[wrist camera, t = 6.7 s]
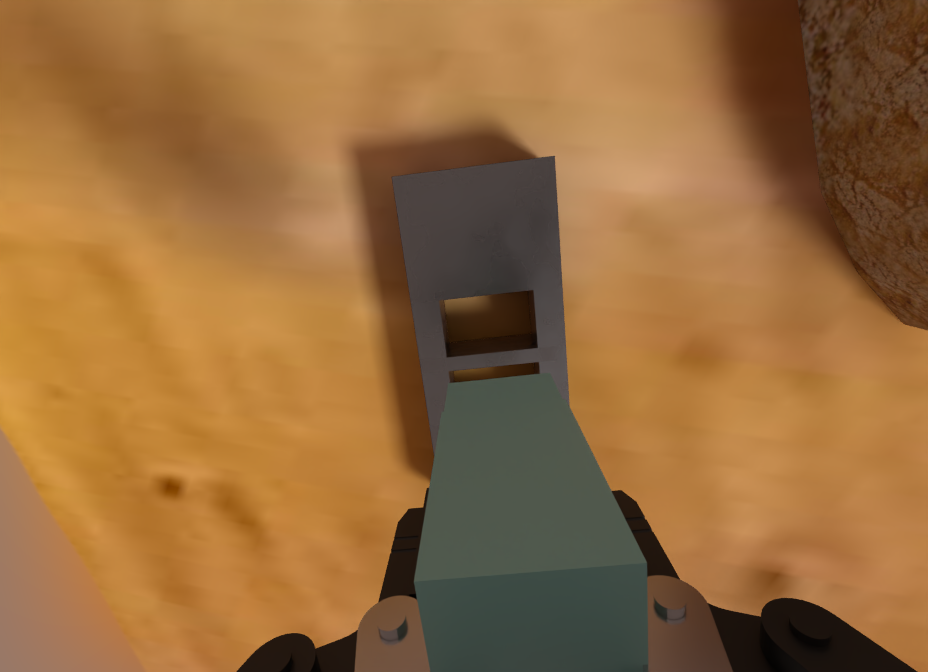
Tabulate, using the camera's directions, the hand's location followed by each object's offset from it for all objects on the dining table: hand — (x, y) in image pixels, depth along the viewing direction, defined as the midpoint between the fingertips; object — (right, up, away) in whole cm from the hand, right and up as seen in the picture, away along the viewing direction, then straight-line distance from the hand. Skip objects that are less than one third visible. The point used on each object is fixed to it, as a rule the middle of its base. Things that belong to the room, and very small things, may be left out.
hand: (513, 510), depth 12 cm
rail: (0, +4, +15) cm, 16 cm away
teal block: (0, +1, +3) cm, 3 cm away
